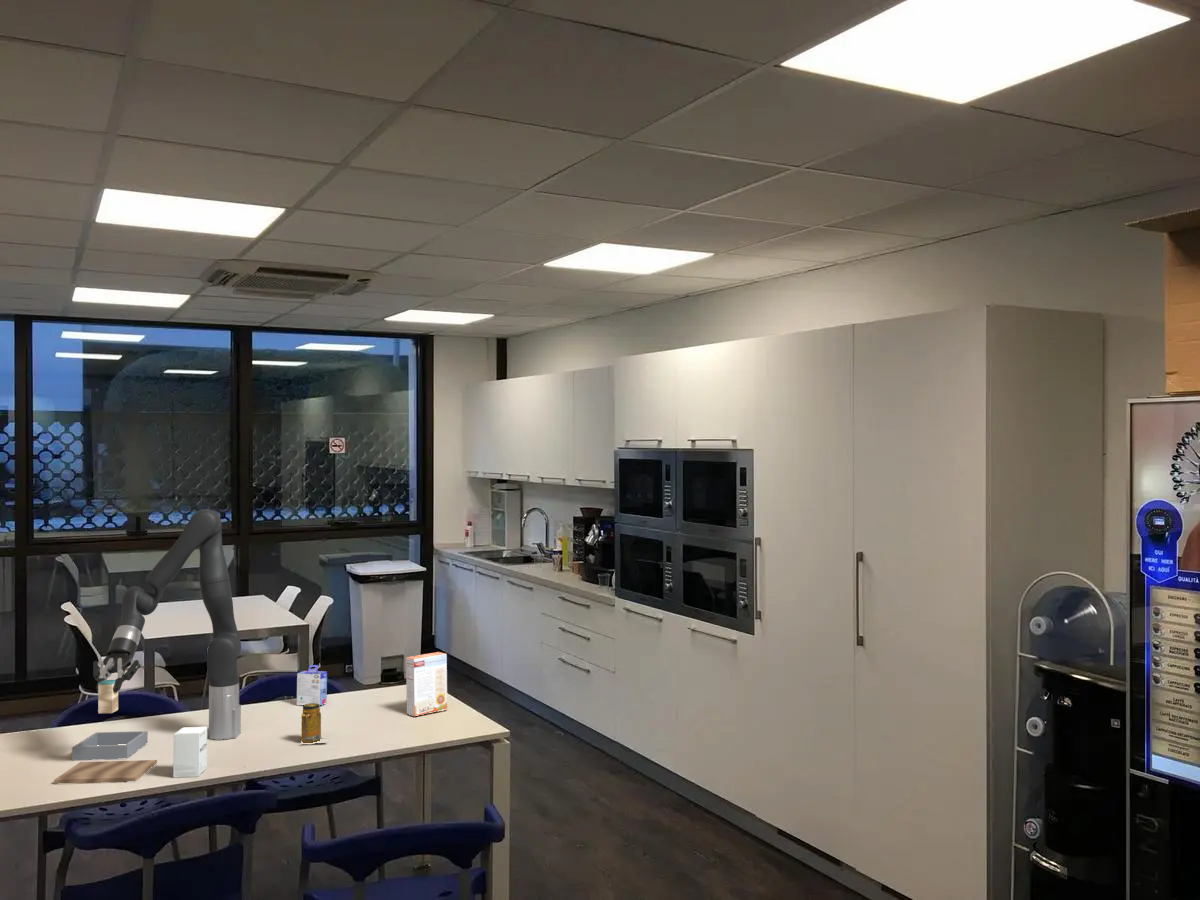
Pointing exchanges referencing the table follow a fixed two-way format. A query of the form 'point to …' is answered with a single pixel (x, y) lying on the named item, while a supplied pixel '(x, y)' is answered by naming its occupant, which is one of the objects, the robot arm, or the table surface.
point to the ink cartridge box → (312, 686)
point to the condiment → (311, 723)
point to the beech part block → (107, 697)
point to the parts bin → (109, 745)
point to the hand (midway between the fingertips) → (107, 691)
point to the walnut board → (106, 771)
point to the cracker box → (426, 683)
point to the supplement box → (190, 752)
